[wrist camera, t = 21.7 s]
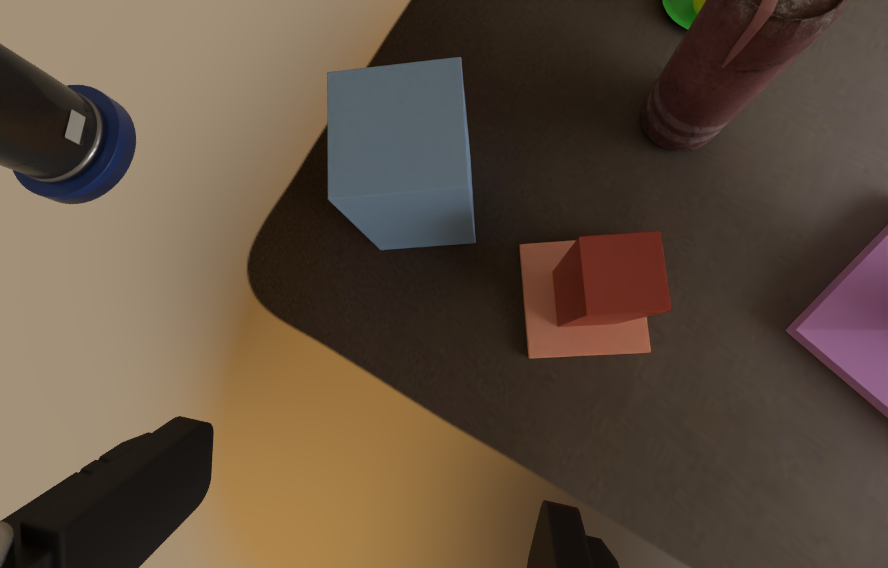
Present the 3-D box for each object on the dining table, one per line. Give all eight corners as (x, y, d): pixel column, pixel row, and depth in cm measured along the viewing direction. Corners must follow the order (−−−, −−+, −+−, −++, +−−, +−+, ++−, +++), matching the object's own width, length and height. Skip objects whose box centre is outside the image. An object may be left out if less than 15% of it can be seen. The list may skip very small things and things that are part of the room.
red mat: (528, 358, 33) (528, 358, 33) (519, 245, 35) (519, 244, 34) (648, 352, 33) (651, 352, 32) (633, 237, 34) (636, 235, 33)
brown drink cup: (624, 139, 35) (710, 3, 22) (657, 75, 36) (760, -97, 22) (696, 169, 34) (834, 46, 21) (728, 103, 35) (883, -60, 21)
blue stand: (380, 250, 36) (327, 199, 24) (378, 160, 37) (327, 71, 26) (475, 243, 35) (469, 187, 23) (469, 152, 37) (460, 56, 25)
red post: (557, 327, 33) (586, 315, 23) (552, 271, 34) (578, 236, 24) (616, 324, 33) (671, 311, 23) (610, 267, 33) (660, 230, 23)
